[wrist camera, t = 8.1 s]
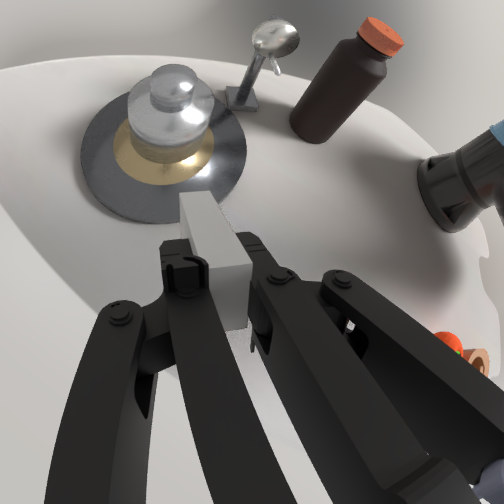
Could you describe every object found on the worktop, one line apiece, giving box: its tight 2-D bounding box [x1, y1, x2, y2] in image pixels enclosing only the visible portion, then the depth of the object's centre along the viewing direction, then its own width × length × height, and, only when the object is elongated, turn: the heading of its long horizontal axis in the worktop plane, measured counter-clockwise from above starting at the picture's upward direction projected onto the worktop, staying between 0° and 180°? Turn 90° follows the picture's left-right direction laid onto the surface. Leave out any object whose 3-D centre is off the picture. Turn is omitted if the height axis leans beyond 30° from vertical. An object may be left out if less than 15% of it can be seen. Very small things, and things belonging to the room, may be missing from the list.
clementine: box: [434, 332, 463, 357], centre depth 32 cm, size 8×7×7 cm
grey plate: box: [81, 91, 247, 224], centre depth 31 cm, size 20×20×1 cm
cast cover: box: [128, 64, 214, 164], centre depth 27 cm, size 9×9×9 cm
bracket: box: [463, 349, 489, 377], centre depth 34 cm, size 18×8×7 cm, turn 82°
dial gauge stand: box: [225, 14, 300, 112], centre depth 29 cm, size 5×8×16 cm, turn 11°
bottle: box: [289, 17, 404, 144], centre depth 30 cm, size 7×7×20 cm
